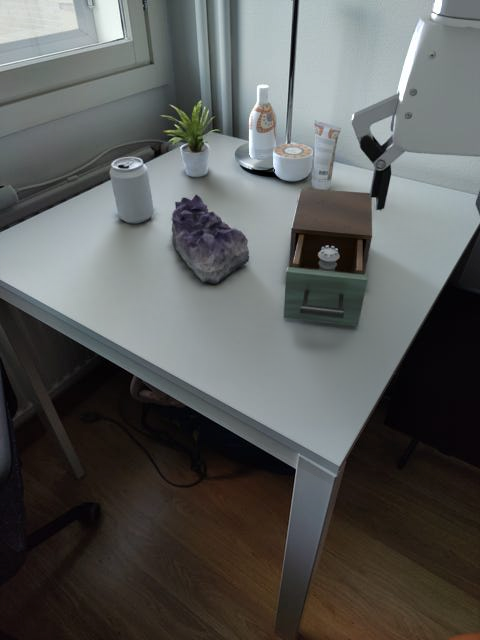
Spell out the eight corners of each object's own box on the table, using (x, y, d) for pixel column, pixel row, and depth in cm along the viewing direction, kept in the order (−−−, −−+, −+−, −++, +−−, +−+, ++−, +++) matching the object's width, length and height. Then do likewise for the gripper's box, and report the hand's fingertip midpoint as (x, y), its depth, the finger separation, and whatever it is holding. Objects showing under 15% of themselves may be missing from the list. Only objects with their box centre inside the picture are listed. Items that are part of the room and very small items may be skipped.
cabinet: (361, 289, 79) (372, 235, 72) (287, 281, 81) (291, 228, 74) (362, 244, 89) (371, 193, 82) (297, 238, 91) (301, 187, 84)
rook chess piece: (321, 280, 77) (327, 238, 72) (343, 291, 75) (350, 249, 70) (304, 291, 75) (308, 249, 70) (326, 304, 73) (332, 261, 67)
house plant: (174, 158, 122) (166, 92, 111) (226, 159, 121) (223, 92, 110) (162, 181, 111) (152, 111, 101) (218, 183, 110) (215, 111, 99)
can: (112, 217, 99) (99, 162, 91) (140, 204, 103) (130, 151, 95) (133, 229, 95) (122, 173, 87) (161, 215, 99) (153, 161, 91)
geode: (150, 242, 91) (148, 193, 85) (202, 232, 97) (203, 185, 91) (200, 291, 78) (201, 237, 72) (256, 276, 83) (262, 224, 77)
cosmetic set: (344, 185, 108) (356, 100, 96) (320, 199, 103) (330, 111, 91) (264, 157, 121) (266, 79, 109) (240, 168, 116) (238, 88, 104)
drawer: (357, 348, 67) (367, 300, 61) (279, 337, 69) (281, 291, 63) (359, 275, 80) (367, 230, 74) (293, 268, 82) (296, 224, 76)
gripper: (598, -8, 36) (514, 197, 47) (368, -9, 38) (342, 184, 50) (640, 7, 30) (534, 235, 41) (368, 4, 33) (339, 219, 44)
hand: (429, 207), depth 46 cm, fingers open, 9 cm apart
